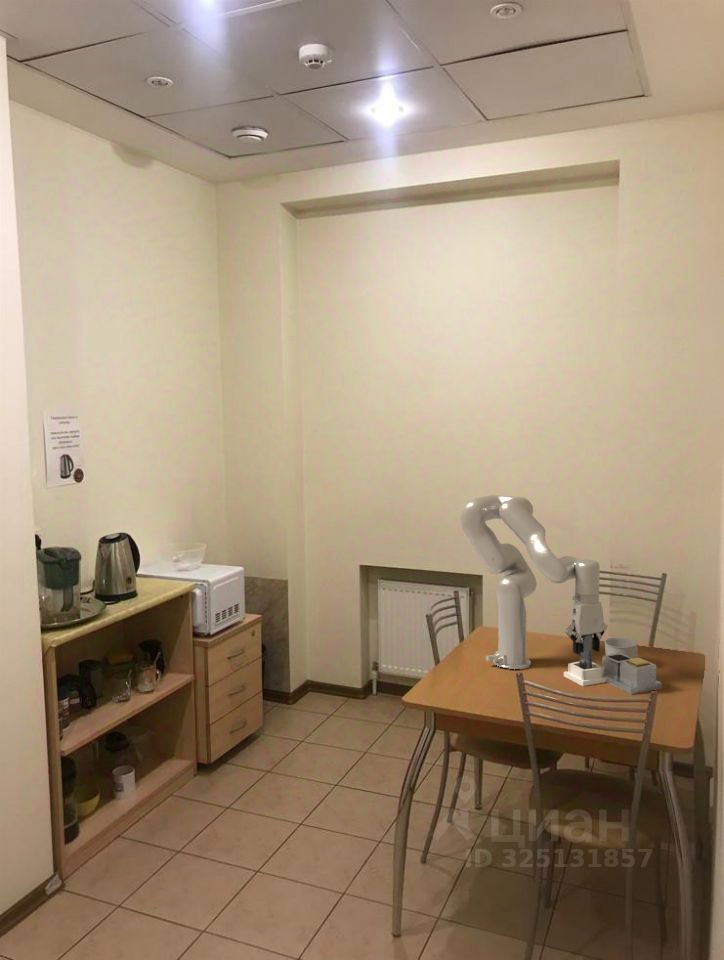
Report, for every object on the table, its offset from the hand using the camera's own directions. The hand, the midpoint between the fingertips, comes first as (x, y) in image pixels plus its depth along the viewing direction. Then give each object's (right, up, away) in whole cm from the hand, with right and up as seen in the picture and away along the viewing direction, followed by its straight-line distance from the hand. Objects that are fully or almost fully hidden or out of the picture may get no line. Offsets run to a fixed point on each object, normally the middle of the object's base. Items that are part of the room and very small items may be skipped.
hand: (586, 651), depth 252 cm
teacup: (+16, -8, +17) cm, 25 cm away
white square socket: (0, -9, +1) cm, 9 cm away
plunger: (+14, -7, -8) cm, 17 cm away
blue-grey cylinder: (0, -8, +1) cm, 8 cm away
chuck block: (+12, -9, -3) cm, 16 cm away
